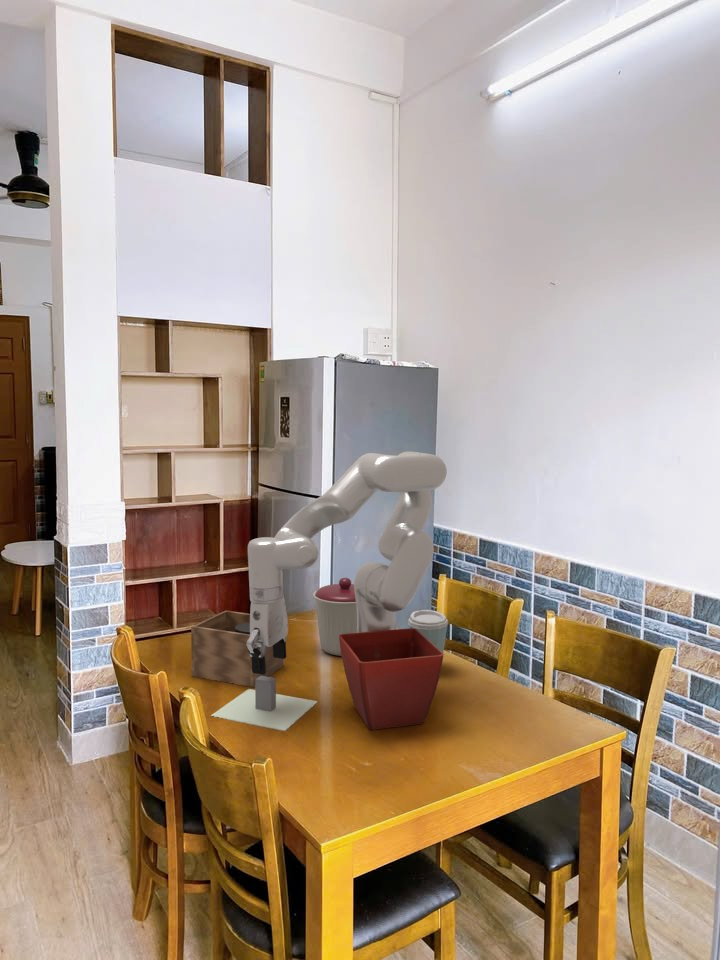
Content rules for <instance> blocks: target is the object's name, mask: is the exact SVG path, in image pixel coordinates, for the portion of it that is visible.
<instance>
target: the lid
mask: <svg viewBox="0 0 720 960" xmlns="http://www.w3.org/2000/svg"><path fill="white" fill-rule="evenodd" d="M254 688H255V689H251V688H248V689H246V690H245V691H244V692H242V693H240V694H239V695H238V696H235V698H234V699H232V700H231V701H229V702H228V703H226V704H225V705H224V706H222V707H221V708H219V709H218V710H217V711H215V712H214V713H213V714H210V717H211V716H214V717H213V718H216V717H219V718H218V719H221V718H223V719H222V720H226V719H227V720H228V721H233V722H237V723H242V724H247V725H252V726H257V727H262V728H267V729H272V730H277V731H282V732H286V731H287V730H288V729H289V728H291V726H293V725H294V724H295V723H296V722H297V721H298V720H300V719H301V718H302V717H303V716H304V715H305V714H306V713H307V712H308V711H310V709H312V708H313V707H314V706H315V705H317V704H318V701H317V700H313V699H306V698H302V697H296V696H291V695H290V696H289V695H285V694H279V693H277V678H275V677H271V676H269V677H266V676H259V677H258V678H257V679H255V686H254Z"/></svg>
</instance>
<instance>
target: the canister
mask: <svg viewBox="0 0 720 960" xmlns="http://www.w3.org/2000/svg"><path fill="white" fill-rule="evenodd" d="M312 597H313V598H314V599H315V607H316V610H315V611H316V617H317V619H316V620H317V627H318V629H317V630H318V636H319V643H320V646H321V648H322V650H323V651H324V652H326V653H328V654H329V655H333V656H339V657H342V655H341V649H340V642H339V635H340V634H347V633H357V606H356V598H355V591H354V583H352V580H351V579H350V578H349V577H341V578H340V579H339V581H338V583H334V584H328V585H325V586H321V587H320V588H319V589H317V590H315V591H314V592H313V593H312Z"/></svg>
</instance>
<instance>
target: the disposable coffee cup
mask: <svg viewBox="0 0 720 960" xmlns="http://www.w3.org/2000/svg"><path fill="white" fill-rule="evenodd" d="M407 624H408V628H413V629H417V630H418V631H419V632H420V633H421V634H422V635H423V636H424V637H425V638H426V639H428V640H429V641H430V642H431V643H432V644H433V645H434V646H435V647H436V648H438V649H439V650H440V651H441V652H442V653H443V654H444V652H445V651H444V649H445V645H446V644H445V643H446V637H447V630H448V625H449V620H448V618H447V617H446V616H445V614H444V613H442V612H439V611H437V610H431V609H421V610H420V609H419V610H415V611H412V612H411V614H410V616H409V618H408V620H407Z"/></svg>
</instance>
